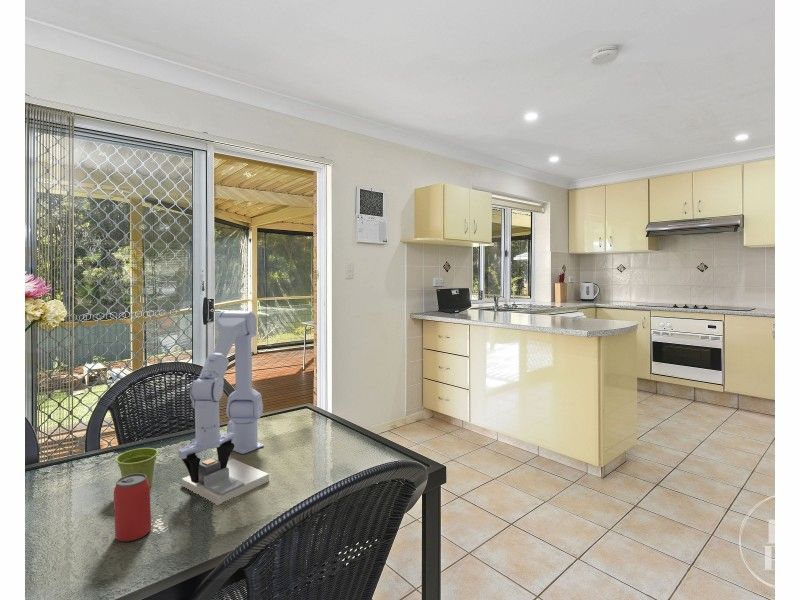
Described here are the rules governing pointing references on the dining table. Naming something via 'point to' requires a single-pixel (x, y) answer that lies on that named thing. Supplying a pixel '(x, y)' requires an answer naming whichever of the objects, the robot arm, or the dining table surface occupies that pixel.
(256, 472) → the socket board
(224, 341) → the robot arm
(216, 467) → the grey rectangular block
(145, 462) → the plant pot
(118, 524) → the beer can
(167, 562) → the dining table surface
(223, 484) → the shutter
